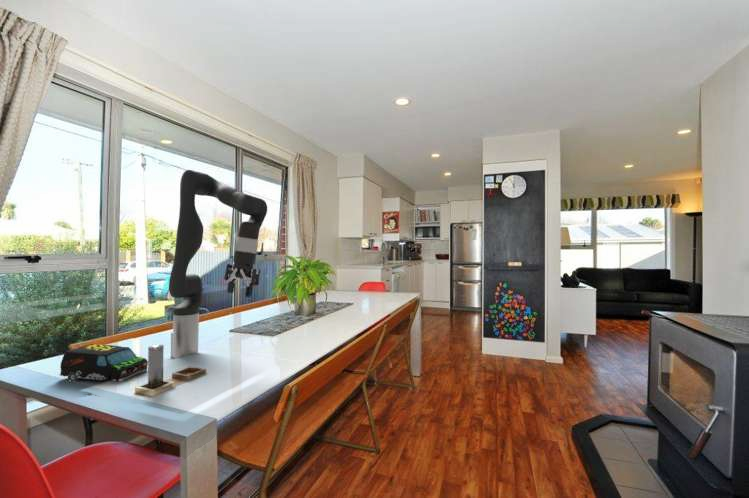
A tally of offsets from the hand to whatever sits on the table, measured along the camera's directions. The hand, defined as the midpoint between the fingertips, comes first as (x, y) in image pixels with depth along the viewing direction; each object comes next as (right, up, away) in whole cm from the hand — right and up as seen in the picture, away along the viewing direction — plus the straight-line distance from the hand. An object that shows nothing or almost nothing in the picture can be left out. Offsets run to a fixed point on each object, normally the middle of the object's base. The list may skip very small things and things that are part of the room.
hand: (238, 294), depth 120 cm
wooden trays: (-15, -27, -15) cm, 34 cm away
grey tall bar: (-16, -25, -21) cm, 37 cm away
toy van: (-42, -27, -9) cm, 50 cm away
